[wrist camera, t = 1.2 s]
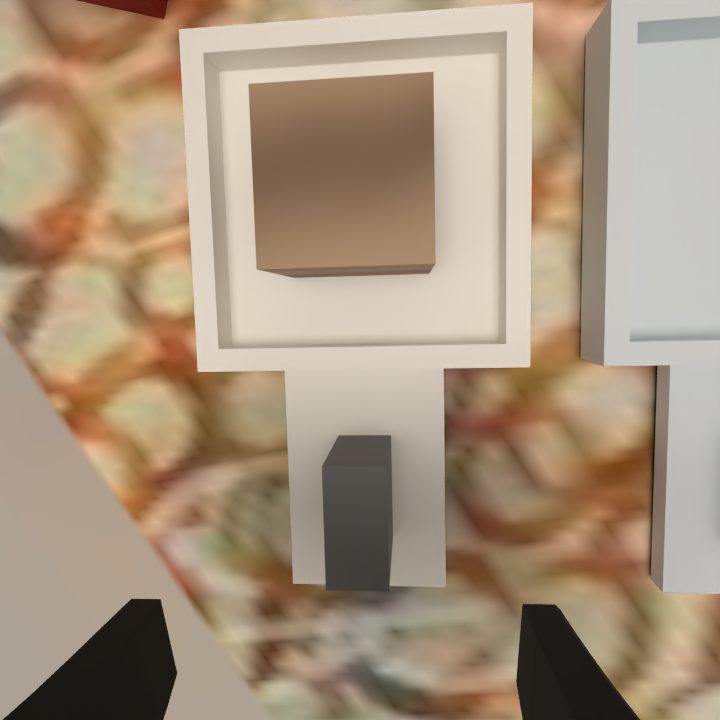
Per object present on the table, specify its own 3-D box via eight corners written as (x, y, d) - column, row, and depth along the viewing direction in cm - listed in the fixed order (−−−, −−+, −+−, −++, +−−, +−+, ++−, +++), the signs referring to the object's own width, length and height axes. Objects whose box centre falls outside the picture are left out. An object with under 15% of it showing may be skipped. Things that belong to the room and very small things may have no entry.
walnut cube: (429, 273, 20) (435, 263, 15) (294, 278, 20) (256, 269, 15) (427, 131, 19) (433, 71, 14) (289, 139, 20) (248, 83, 15)
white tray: (514, 575, 22) (546, 657, 17) (232, 569, 23) (183, 644, 18) (516, 40, 20) (553, -49, 15) (206, 62, 21) (142, -15, 16)
